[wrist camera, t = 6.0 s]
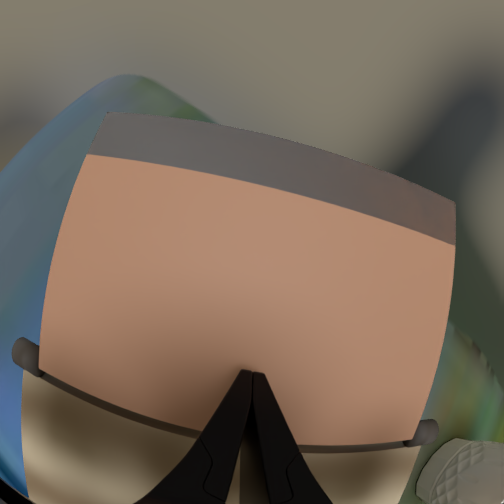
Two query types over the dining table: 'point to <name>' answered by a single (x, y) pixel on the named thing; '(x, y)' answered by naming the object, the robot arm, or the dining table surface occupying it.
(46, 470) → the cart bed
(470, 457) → the white cup
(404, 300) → the panel
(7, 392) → the dining table surface
